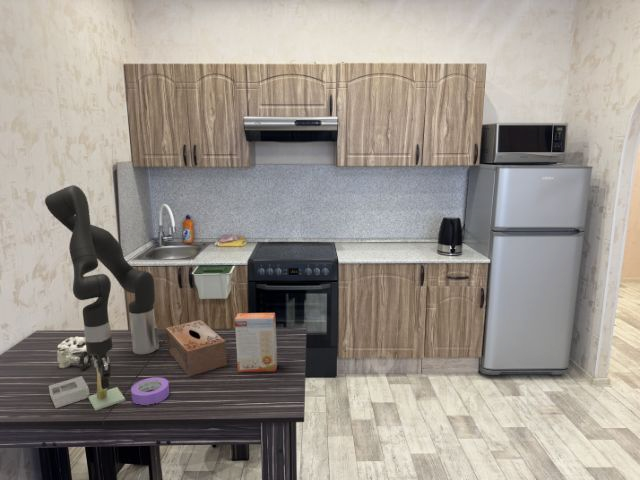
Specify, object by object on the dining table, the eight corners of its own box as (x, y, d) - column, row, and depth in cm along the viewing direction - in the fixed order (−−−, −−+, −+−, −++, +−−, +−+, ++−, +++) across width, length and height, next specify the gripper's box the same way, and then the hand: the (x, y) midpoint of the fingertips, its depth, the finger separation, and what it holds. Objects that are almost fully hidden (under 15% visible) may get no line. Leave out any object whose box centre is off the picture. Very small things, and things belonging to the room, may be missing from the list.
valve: (53, 369, 169) (82, 372, 167) (51, 353, 167) (80, 355, 165) (66, 361, 175) (94, 363, 173) (63, 345, 174) (91, 347, 172)
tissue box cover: (226, 365, 170) (225, 341, 168) (189, 377, 162) (187, 351, 160) (202, 341, 191) (200, 319, 189) (167, 351, 183) (165, 328, 181)
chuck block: (83, 385, 157) (81, 374, 156) (89, 397, 150) (88, 386, 149) (50, 395, 151) (48, 384, 150) (55, 408, 144) (53, 396, 143)
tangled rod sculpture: (47, 353, 185) (44, 344, 184) (79, 337, 197) (77, 328, 196) (77, 362, 176) (74, 352, 175) (109, 344, 188) (106, 335, 187)
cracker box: (277, 364, 170) (275, 311, 166) (275, 372, 164) (273, 318, 160) (240, 364, 171) (237, 312, 166) (237, 372, 165) (234, 318, 160)
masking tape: (134, 390, 154) (132, 379, 154) (169, 384, 157) (169, 374, 157) (130, 408, 143) (128, 398, 143) (168, 402, 146) (167, 392, 146)
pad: (117, 389, 155) (117, 386, 154) (125, 400, 148) (124, 398, 148) (88, 398, 149) (88, 396, 149) (95, 410, 142) (95, 408, 142)
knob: (94, 394, 148) (95, 358, 146) (108, 392, 150) (108, 356, 148) (95, 400, 145) (96, 363, 143) (109, 398, 147) (109, 361, 145)
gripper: (80, 332, 147) (86, 381, 150) (90, 347, 136) (97, 399, 140) (105, 326, 151) (110, 373, 155) (116, 340, 141) (122, 390, 144)
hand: (104, 385), depth 147 cm, fingers closed on knob, 3 cm apart
